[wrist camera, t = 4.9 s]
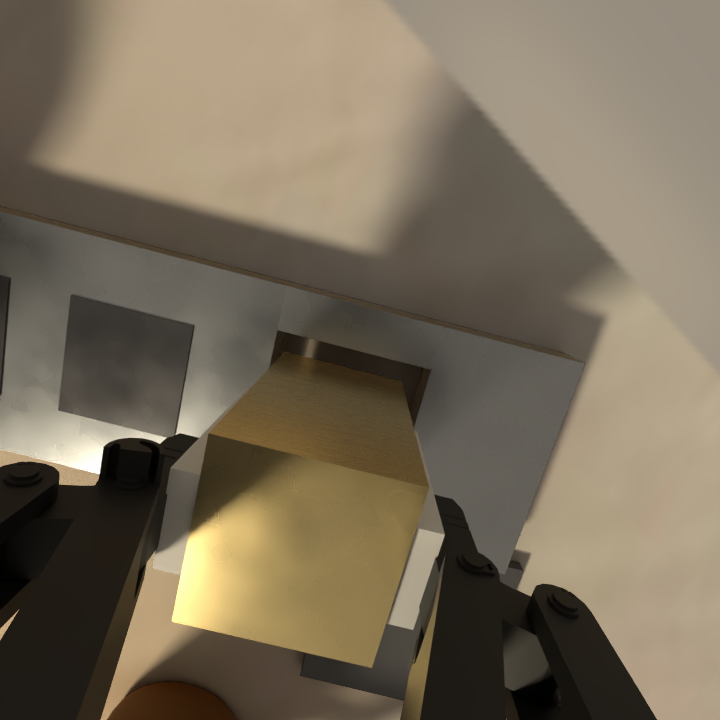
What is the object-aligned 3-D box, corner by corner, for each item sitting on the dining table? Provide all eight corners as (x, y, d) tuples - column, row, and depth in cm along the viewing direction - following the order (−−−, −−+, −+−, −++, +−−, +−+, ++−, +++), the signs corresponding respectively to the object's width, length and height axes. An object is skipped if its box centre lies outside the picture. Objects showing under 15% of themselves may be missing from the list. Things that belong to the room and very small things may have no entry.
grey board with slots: (-32, 416, 22) (-74, 432, 20) (-18, 201, 19) (-64, 195, 17) (493, 547, 22) (505, 575, 20) (564, 353, 20) (585, 364, 18)
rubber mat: (302, 665, 24) (300, 675, 24) (342, 518, 22) (341, 525, 22) (465, 704, 24) (467, 715, 24) (519, 562, 22) (523, 570, 22)
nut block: (259, 460, 20) (171, 621, 11) (284, 351, 19) (208, 433, 10) (371, 487, 20) (371, 667, 11) (401, 381, 19) (429, 487, 10)
